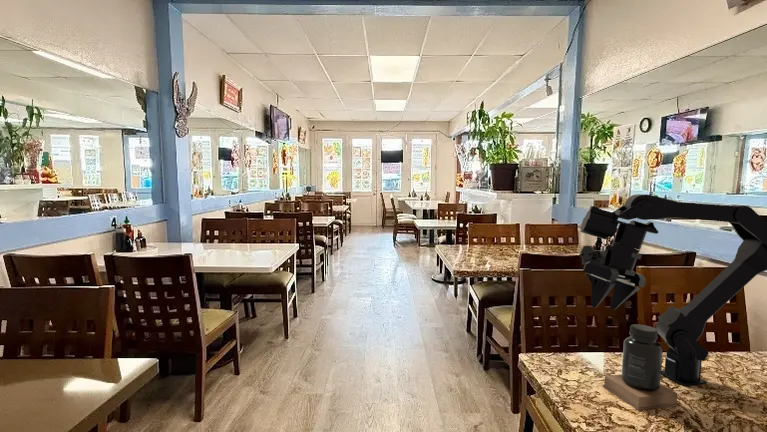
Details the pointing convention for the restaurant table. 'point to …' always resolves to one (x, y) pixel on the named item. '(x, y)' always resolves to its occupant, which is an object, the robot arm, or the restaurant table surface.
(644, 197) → the robot arm
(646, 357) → the supplement bottle
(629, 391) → the walnut base
